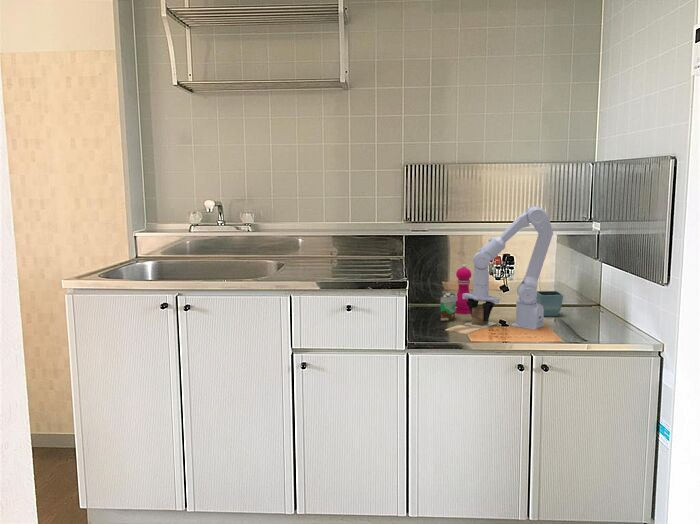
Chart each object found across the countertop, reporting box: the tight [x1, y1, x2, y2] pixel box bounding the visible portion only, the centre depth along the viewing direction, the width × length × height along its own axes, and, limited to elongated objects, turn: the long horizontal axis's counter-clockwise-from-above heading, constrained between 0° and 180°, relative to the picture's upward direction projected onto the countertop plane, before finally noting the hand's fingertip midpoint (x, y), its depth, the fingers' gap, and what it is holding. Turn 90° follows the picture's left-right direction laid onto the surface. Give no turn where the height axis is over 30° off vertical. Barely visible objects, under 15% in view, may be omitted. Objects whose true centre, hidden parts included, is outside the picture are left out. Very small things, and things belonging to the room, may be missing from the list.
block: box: [471, 305, 490, 326], centre depth 238 cm, size 4×4×6 cm
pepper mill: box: [455, 263, 472, 315], centre depth 256 cm, size 7×7×20 cm
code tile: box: [464, 320, 497, 329], centre depth 239 cm, size 9×9×1 cm
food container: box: [440, 291, 458, 323], centre depth 246 cm, size 12×6×10 cm, turn 168°
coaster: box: [444, 324, 481, 336], centre depth 230 cm, size 9×9×1 cm
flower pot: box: [536, 290, 564, 317], centre depth 251 cm, size 9×9×9 cm
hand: (480, 319), depth 238 cm, fingers closed on block, 4 cm apart
